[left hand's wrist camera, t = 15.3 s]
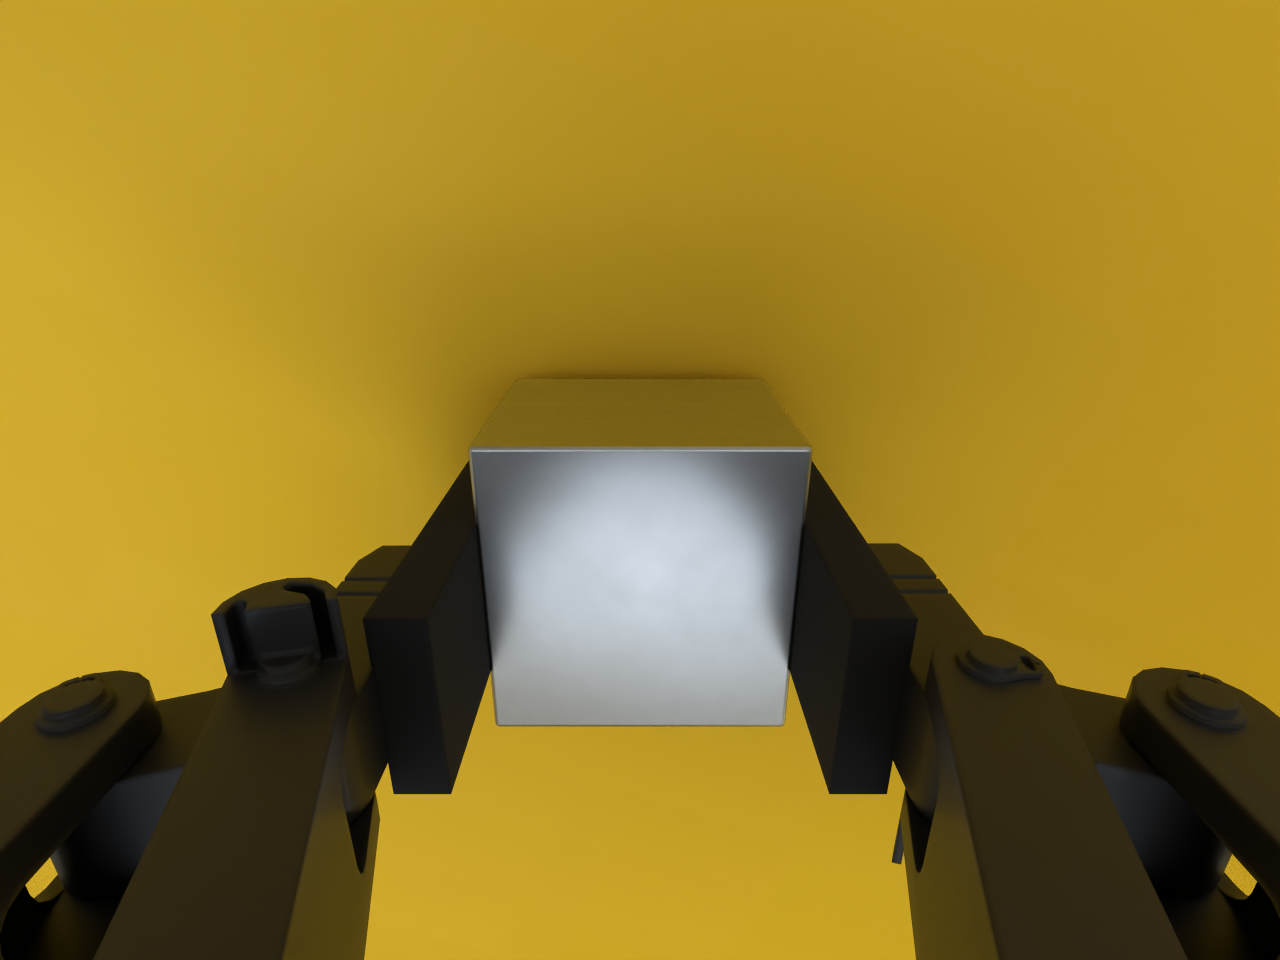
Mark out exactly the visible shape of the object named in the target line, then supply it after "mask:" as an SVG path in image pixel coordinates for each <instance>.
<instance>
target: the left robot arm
mask: <svg viewBox="0 0 1280 960" xmlns="http://www.w3.org/2000/svg"><path fill="white" fill-rule="evenodd" d="M211 617H212V620H213V624H214V627H215V631H216V635H217V638H218V642H219V646H220V649H221V653H222V656H223V660H224V664H225V667H226V671H227V674H228V676H227V678H226V680H225V682H224V684H223V686H222V688H218V689H214V690H211V691H206V692H201V693H196V694H191V695H186V696H181V697H176V698H171V699H166V700H161V701H155V698H154V694H153V691H152V688H151V685H150V682H149V680H147V679H146V678H145V677H143V676H142V675H141V674H139V673H135V672H128V671H120V670H119V671H111V672H102V673H93V674H88V675H84V676H82V677H81V678H79V677H77V678H74V679H71V680H68V681H65V682H63V683H61V684H60V685H58V686H56V687H54V688H52V689H49V690H47V691H45V692H43V693H41V694H39V695H37V696H36V697H34V698H33V699H31V700H30V701H28V702H27V703H25V704H24V705H22V706H21V707H19V708H18V709H16V710H15V711H14V712H13V713H11V714H10V715H9V716H8V717H6V718H5V719H4V720H3V721H2V722H0V960H364V955H365V946H366V937H367V928H368V920H369V911H370V902H371V893H372V884H373V876H374V867H375V858H376V849H377V840H378V832H379V823H380V817H379V810H378V804H377V799H376V794H375V790H376V788H377V786H378V783H379V781H380V779H381V777H382V775H383V772H384V770H385V768H386V766H387V763H388V764H389V770H390V775H391V781H392V787H393V792H394V794H451V792H452V789H453V786H454V783H455V780H456V777H457V774H458V771H459V768H460V764H461V761H462V758H463V755H464V752H465V749H466V746H467V743H468V740H469V736H470V733H471V730H472V727H473V724H474V721H475V718H476V715H477V712H478V708H479V705H480V702H481V699H482V696H483V693H484V690H485V687H486V684H487V680H488V677H489V674H490V671H491V670H490V660H489V650H488V640H487V630H486V620H485V610H484V600H483V590H482V580H481V570H480V560H479V550H478V540H477V530H476V523H475V513H474V503H473V493H472V483H471V473H470V463H469V461H468V463H467V464H466V466H465V467H464V469H463V470H462V471H461V473H460V474H459V476H458V477H457V479H456V480H455V482H454V483H453V485H452V486H451V488H450V489H449V491H448V492H447V494H446V495H445V497H444V498H443V500H442V501H441V503H440V504H439V506H438V507H437V509H436V510H435V512H434V513H433V515H432V516H431V518H430V519H429V521H428V522H427V524H426V525H425V526H424V528H423V529H422V531H421V532H420V534H419V535H418V537H417V538H416V540H415V541H414V543H413V544H412V546H381V547H380V548H378V549H376V550H375V551H373V552H372V553H370V554H368V555H367V556H365V557H363V558H362V559H360V560H359V561H358V562H357V563H356V564H355V566H354V567H353V568H352V569H351V571H350V572H349V573H348V574H347V576H346V577H345V581H342V582H341V583H340V585H339V586H338V587H337V588H335V587H333V586H332V585H331V584H329V583H328V582H327V581H323V580H318V579H313V578H287V579H282V580H277V581H272V582H267V583H263V584H260V585H257V586H255V587H252V588H249V589H246V590H244V591H241V592H239V593H238V594H236V595H234V596H233V597H231V598H229V599H228V600H226V601H224V602H223V603H222V604H221V605H220V606H219V607H218V608H217V609H216V610H215V611H214V612H213V613H212V614H211ZM790 673H791V676H792V679H793V682H794V685H795V688H796V691H797V694H798V698H799V701H800V704H801V707H802V710H803V713H804V716H805V719H806V722H807V726H808V729H809V732H810V735H811V738H812V741H813V744H814V747H815V750H816V754H817V757H818V760H819V763H820V766H821V769H822V772H823V775H824V778H825V782H826V785H827V788H828V791H829V794H887V789H888V784H889V778H890V773H891V767H892V762H893V761H894V763H895V766H896V768H897V770H898V772H899V774H900V776H901V779H902V781H903V783H904V785H905V787H906V788H905V794H904V799H903V804H902V809H901V814H900V819H899V825H898V830H897V835H896V840H895V845H894V851H893V858H892V862H893V863H897V864H901V861H902V856H903V851H904V856H905V865H906V874H907V883H908V891H909V900H910V909H911V918H912V926H913V935H914V944H915V953H916V960H1280V717H1278V716H1277V715H1276V714H1275V713H1273V712H1272V711H1271V710H1270V709H1269V708H1267V707H1266V706H1265V705H1263V704H1262V703H1260V702H1259V701H1257V700H1255V699H1254V698H1252V697H1251V696H1249V695H1248V694H1246V693H1245V692H1243V691H1242V690H1239V689H1237V688H1235V687H1233V686H1230V685H1228V684H1226V683H1224V682H1222V681H1221V680H1219V679H1217V678H1214V677H1211V676H1208V675H1205V674H1203V675H1201V674H1200V673H1198V672H1194V671H1189V670H1179V669H1171V668H1154V669H1147V670H1142V671H1141V672H1140V673H1138V674H1137V675H1136V676H1134V677H1133V678H1132V681H1131V684H1130V688H1129V691H1128V694H1127V697H1126V699H1125V698H1120V697H1115V696H1110V695H1105V694H1100V693H1095V692H1090V691H1085V690H1079V689H1074V688H1070V687H1066V686H1062V685H1058V684H1057V683H1056V681H1055V679H1054V677H1053V674H1052V673H1051V672H1050V671H1049V669H1048V668H1047V667H1046V666H1045V664H1044V663H1043V662H1042V661H1041V660H1040V659H1038V658H1037V657H1036V656H1034V655H1033V654H1031V653H1030V652H1028V651H1027V650H1025V649H1024V648H1022V647H1019V646H1017V645H1015V644H1012V643H1010V642H1008V641H1005V640H1003V639H999V638H995V637H990V636H986V635H983V633H982V632H981V631H980V630H979V628H978V627H977V626H976V625H975V623H974V622H973V621H972V620H971V618H970V617H969V616H968V615H967V613H966V612H965V611H964V610H963V608H962V607H961V606H960V605H959V603H958V602H957V601H956V600H955V598H954V597H953V596H952V595H951V594H948V590H947V588H946V587H945V586H944V585H943V583H942V582H941V581H940V580H939V579H936V575H935V573H934V572H933V571H932V570H931V568H930V567H929V566H928V565H927V563H926V562H925V561H924V560H923V558H921V557H919V556H918V555H916V554H915V553H913V552H911V551H910V550H908V549H906V548H905V547H903V546H901V545H900V544H867V542H866V541H865V539H864V538H863V536H862V535H861V533H860V532H859V530H858V529H857V527H856V526H855V524H854V523H853V521H852V520H851V518H850V517H849V515H848V514H847V512H846V511H845V509H844V508H843V506H842V505H841V503H840V502H839V500H838V499H837V497H836V496H835V494H834V493H833V492H832V490H831V489H830V487H829V486H828V484H827V483H826V481H825V480H824V478H823V477H822V475H821V474H820V472H819V471H818V469H817V468H816V466H815V465H814V463H813V462H812V460H811V470H810V480H809V490H808V500H807V510H806V519H805V525H804V535H803V545H802V555H801V565H800V575H799V585H798V595H797V605H796V615H795V624H794V634H793V644H792V654H791V664H790ZM1232 854H1233V855H1234V856H1235V857H1236V858H1237V859H1238V861H1239V862H1240V863H1241V864H1242V865H1243V866H1244V867H1245V868H1246V869H1247V871H1248V872H1249V873H1250V874H1251V875H1252V876H1253V877H1254V878H1255V880H1256V881H1257V883H1256V885H1255V888H1254V890H1253V892H1252V893H1251V894H1250V895H1249V896H1247V895H1245V894H1244V893H1243V892H1242V891H1241V890H1240V889H1239V888H1238V887H1237V886H1236V885H1235V884H1234V883H1233V882H1232V881H1231V880H1230V878H1229V877H1228V876H1227V875H1226V874H1225V873H1224V871H1225V868H1226V866H1227V864H1228V862H1229V860H1230V857H1231V855H1232ZM49 858H51V860H52V862H53V865H54V867H55V869H56V871H57V873H58V875H57V876H56V877H55V878H54V880H53V881H52V882H51V883H50V884H49V885H48V887H47V888H46V889H45V890H43V891H42V892H41V893H40V894H39V895H37V896H36V897H35V898H33V897H31V896H30V894H29V892H28V890H27V888H26V886H25V884H26V883H27V882H28V881H29V880H30V879H31V878H32V877H33V875H34V874H35V873H36V872H37V871H38V870H39V869H40V868H41V867H42V865H43V864H44V863H45V862H46V861H47V860H48V859H49Z"/></svg>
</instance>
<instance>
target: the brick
mask: <svg viewBox="0 0 1280 960" xmlns="http://www.w3.org/2000/svg"><path fill="white" fill-rule="evenodd" d="M468 453H469V463H470V473H471V483H472V493H473V503H474V513H475V523H476V530H477V540H478V550H479V560H480V570H481V580H482V590H483V600H484V610H485V620H486V630H487V640H488V650H489V660H490V670H491V671H490V673H491V683H492V693H493V704H494V714H495V722H496V725H497V726H783V725H784V723H785V716H786V707H787V697H788V687H789V677H790V664H791V654H792V644H793V634H794V624H795V615H796V605H797V595H798V585H799V575H800V565H801V555H802V545H803V535H804V525H805V519H806V510H807V500H808V490H809V480H810V470H811V460H812V447H811V446H810V444H809V443H808V441H807V440H806V439H805V437H804V436H803V434H802V433H801V432H800V430H799V429H798V427H797V426H796V424H795V423H794V422H793V420H792V419H791V417H790V416H789V415H788V413H787V412H786V410H785V409H784V408H783V406H782V405H781V403H780V402H779V401H778V399H777V398H776V396H775V395H774V394H773V392H772V391H771V389H770V388H769V387H768V385H767V384H766V382H765V381H764V380H763V379H517V380H516V381H515V383H514V384H513V386H512V387H511V388H510V390H509V391H508V393H507V394H506V396H505V397H504V398H503V400H502V401H501V403H500V404H499V405H498V407H497V408H496V410H495V411H494V412H493V414H492V415H491V417H490V418H489V420H488V421H487V422H486V424H485V425H484V427H483V428H482V429H481V431H480V432H479V434H478V435H477V437H476V438H475V439H474V441H473V442H472V444H471V445H470V446H469V449H468Z"/></svg>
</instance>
